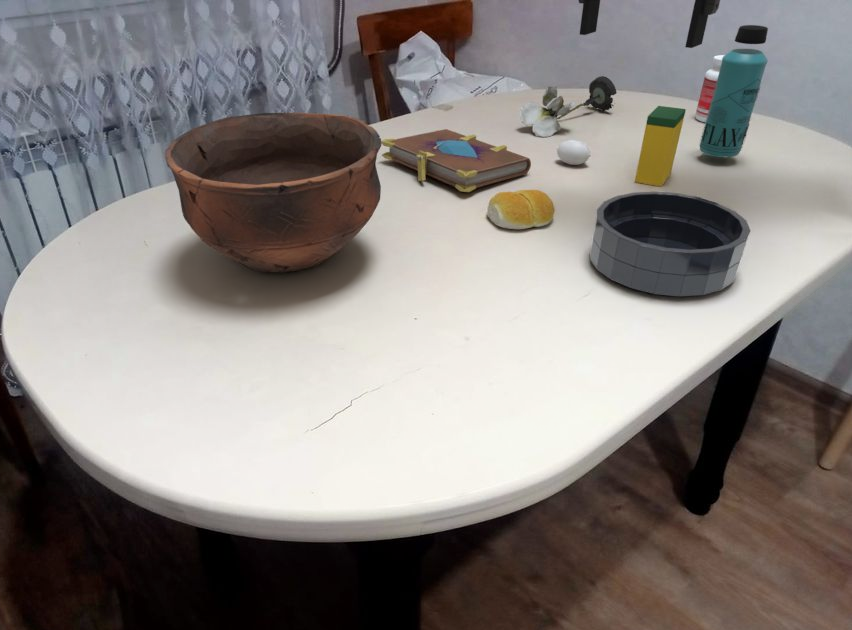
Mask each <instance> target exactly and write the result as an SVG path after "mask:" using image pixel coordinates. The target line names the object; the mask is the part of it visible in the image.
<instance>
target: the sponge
mask: <svg viewBox="0 0 852 630" xmlns="http://www.w3.org/2000/svg"><path fill="white" fill-rule="evenodd" d="M686 111H687V110H686V108H681V107H672V106H664V105H658V106H657V107H655V108H654V109H653V110H652V111H651V112H650V114H648V115H647V117H646V124H645V127H644V133H643V138H642V143H641V147H640V152H639V157H638V162H637V168H636V173H635V176H634V177H635V178H634V183H638V184H644V185H649V186H655V187H661V188H662V187H663V185H664V183H665V182H666V181H667V180H668V179H669V177H670V176H671V174H672V172H673V171H672V170H673V165H674V163H675V158H676V154H677V149H678V146H679V140H680V136H681V131H682V127H683V123H684V117H685V115H686Z"/></svg>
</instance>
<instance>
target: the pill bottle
mask: <svg viewBox="0 0 852 630" xmlns="http://www.w3.org/2000/svg"><path fill="white" fill-rule="evenodd" d="M725 55H726V54H719V55H715V56H713V59H712V62H711V66H712V68H709V69H708V70H707V71H706V72H705V75H704V78H703V81H702V86H701V90H700V94H699V98H698V101H697V107H696V110H695V115H694V118H695V119H696V120H697V121H699V122H702V123H704V124H706V120H707V118H706V117H707V116H708V115H707V112H709V109H710V106H709V105H710V104H711V102H712V98H713V94H714V91H715V87H716V83H717V79H718V75H719V71H720V67H721V64H722V58H723V57H724V56H725Z"/></svg>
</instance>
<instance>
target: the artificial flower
mask: <svg viewBox="0 0 852 630" xmlns="http://www.w3.org/2000/svg"><path fill="white" fill-rule="evenodd" d="M588 92H589V98H588V99H586V100H585V102H583V103H582V102H581V103H579V104H578V105H576V101H575V100H571V101H570V102H567V103H566V104H564V102H565V101H564V97H563V95H559V96H558V87H557V85H550V86H547V87H546V89H545V91H544V93H543V95H542V102H541V103H542V105H543V106H544V107H543V106H541V105H540V103H538V102H534V101H528V102H527V103H526V104H525V105H524V106H521V107H520V110H519V113H518V116H519V119H520V120H521V123H522V124H523V125H525V126H532V133H534V135H535V136H536V137H538V138H540V137H542V138H547V137H552V136H554V134H555V133H557V132H559V131H561V124H560V122H559V121H558V120H560V119H562V118H563V117H565V116H567V115H568V114H570V113H572V112H574V111H576V110H578V109H580V108H581V107H588V106H591V107H592V108H593V109H595V110H596V109H598V110H600V111H609V110H611V109H612V108H613V107H614V104H612V103H613V102H614V98H613V97H612V96H615V95H617V89H616V86H615V84H614V83H613V81H612V80H611V79H610V78H608V77H607V76H604V75H602V76H601V75H600V76H598V77H596V78H594V79H593V80H592V81H591V82H590V83H589V86H588ZM575 105H576V106H575Z"/></svg>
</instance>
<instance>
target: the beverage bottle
mask: <svg viewBox="0 0 852 630" xmlns="http://www.w3.org/2000/svg"><path fill="white" fill-rule="evenodd" d="M768 31H769V28H768V27H767V26H764V25H757V24H756V25H755V24H746V25H740V26H739V27H738V30H737V32H736V35H735V39H734V42H736V43H738V44H739V43H740V44H744V45H763V44H765V43H766V41H767V35H768ZM724 55H725V56H724V57H723V58H722V64H721V67H720V71H719V75H718V79H717V83H716V87H715V91H714V94H713V98H712V102H711V104H710V105H709V106H710V109H709V112H707V115H708V116H707V117H706V118H707V120H706V123H703V126H704V127H703V130H702V132H701V136H700V142H699V151H700V152H701V153H703V154H704V155H707V156H711V157H717V158H719V157H720V158H732V157H736V156H739V154H740V153H741V151H742V149H743V147H744V143H745V142H746V140H745V139H746V137H747V135H748V131H749V127H750V122H751V119H752V113H753V112H754V111H753V110H754V107H755V105H756V103H757V102H758V100H757V99H758V96H759V93H760V91H761V84H762V79H763V76H764V73H765V70H766V66H767V63H768V58H767V56H766V54H765V53H764V52H763V51H762V50H759V49H754V48H733V49H732V50H730V51H728V52H727V53H726V54H724Z"/></svg>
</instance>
